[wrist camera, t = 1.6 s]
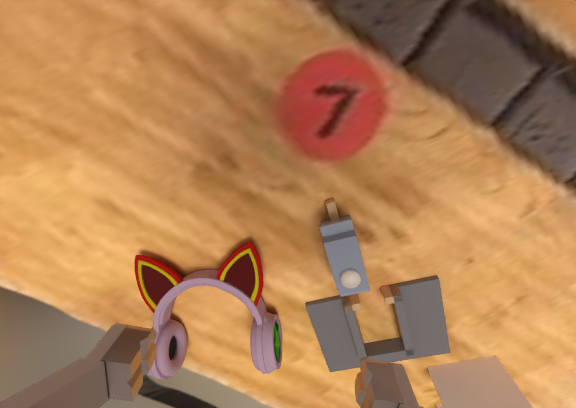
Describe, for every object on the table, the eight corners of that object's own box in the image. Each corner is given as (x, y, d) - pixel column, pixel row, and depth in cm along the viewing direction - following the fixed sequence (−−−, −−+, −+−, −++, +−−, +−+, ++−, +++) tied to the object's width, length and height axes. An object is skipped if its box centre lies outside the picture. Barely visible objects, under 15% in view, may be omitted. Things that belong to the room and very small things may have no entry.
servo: (344, 195, 38) (351, 216, 32) (363, 270, 42) (373, 302, 36) (315, 202, 39) (316, 224, 33) (337, 276, 43) (342, 308, 37)
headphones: (155, 391, 44) (91, 300, 35) (179, 335, 53) (133, 249, 43) (280, 385, 42) (249, 285, 32) (284, 327, 50) (260, 235, 41)
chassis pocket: (436, 275, 42) (444, 286, 40) (447, 348, 47) (455, 361, 45) (305, 302, 45) (305, 314, 43) (329, 367, 50) (330, 381, 48)
